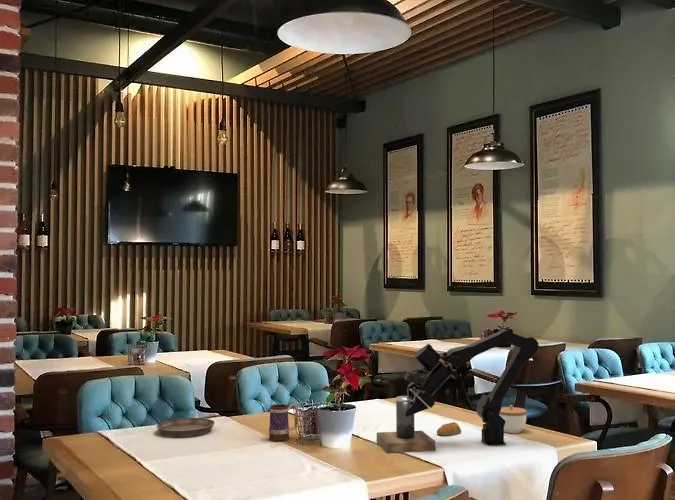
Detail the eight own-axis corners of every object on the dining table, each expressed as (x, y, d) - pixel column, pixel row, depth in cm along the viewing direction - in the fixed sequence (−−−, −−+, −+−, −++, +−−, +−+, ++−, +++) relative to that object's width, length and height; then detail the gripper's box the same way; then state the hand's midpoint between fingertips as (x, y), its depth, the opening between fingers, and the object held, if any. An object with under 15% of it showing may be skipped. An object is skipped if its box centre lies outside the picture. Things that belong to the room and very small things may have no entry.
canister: (416, 435, 248) (416, 396, 248) (412, 439, 242) (411, 399, 242) (399, 434, 250) (398, 395, 250) (394, 438, 244) (394, 398, 244)
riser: (422, 439, 255) (421, 430, 255) (435, 450, 239) (435, 441, 239) (376, 441, 252) (376, 432, 252) (387, 453, 237) (387, 443, 237)
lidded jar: (530, 430, 268) (530, 404, 268) (521, 436, 259) (520, 409, 259) (502, 426, 274) (502, 401, 274) (491, 432, 265) (491, 406, 265)
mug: (270, 442, 252) (270, 407, 252) (267, 437, 259) (267, 403, 259) (300, 440, 254) (299, 405, 254) (296, 436, 261) (296, 401, 261)
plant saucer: (156, 440, 256) (156, 431, 256) (156, 428, 276) (156, 419, 276) (216, 437, 261) (216, 427, 261) (212, 425, 281) (212, 416, 281)
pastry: (447, 438, 257) (447, 427, 257) (431, 435, 262) (431, 424, 262) (462, 433, 264) (462, 423, 264) (447, 431, 269) (447, 420, 269)
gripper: (413, 358, 256) (382, 391, 255) (424, 365, 238) (390, 401, 236) (435, 380, 257) (404, 413, 255) (448, 389, 238) (415, 425, 237)
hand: (403, 412), depth 246 cm, fingers open, 9 cm apart
